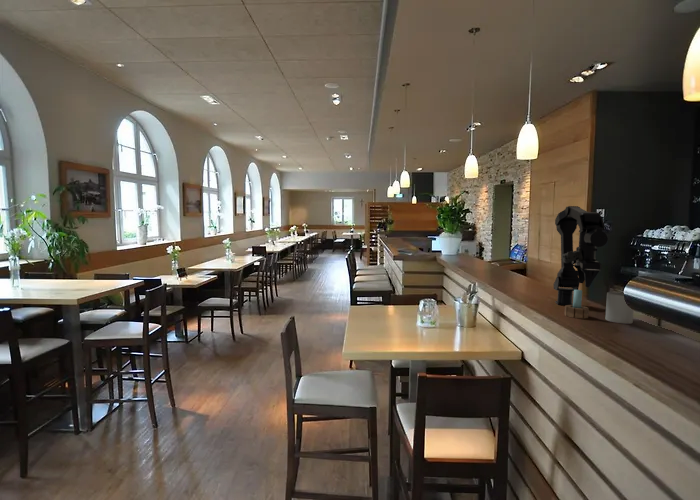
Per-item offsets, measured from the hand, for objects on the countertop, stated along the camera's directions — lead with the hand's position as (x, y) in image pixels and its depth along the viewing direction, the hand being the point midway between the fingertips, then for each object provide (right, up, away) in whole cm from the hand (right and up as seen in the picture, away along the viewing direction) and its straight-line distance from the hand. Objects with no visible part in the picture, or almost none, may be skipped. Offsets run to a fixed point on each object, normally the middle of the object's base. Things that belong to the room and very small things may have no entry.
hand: (584, 285), depth 157 cm
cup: (+8, -13, -8) cm, 17 cm away
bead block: (-4, -12, -2) cm, 13 cm away
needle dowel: (-4, -12, -2) cm, 13 cm away
